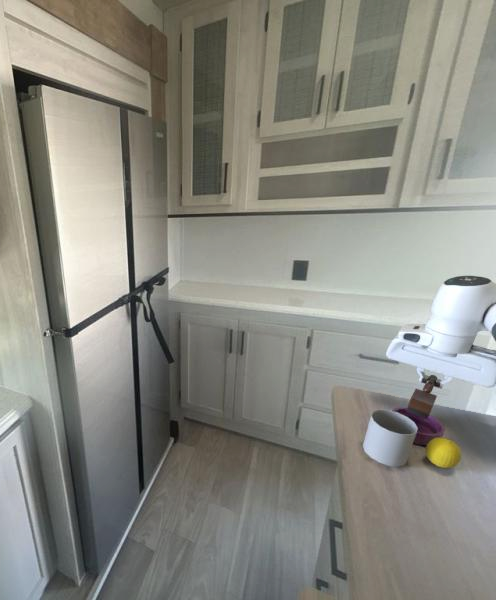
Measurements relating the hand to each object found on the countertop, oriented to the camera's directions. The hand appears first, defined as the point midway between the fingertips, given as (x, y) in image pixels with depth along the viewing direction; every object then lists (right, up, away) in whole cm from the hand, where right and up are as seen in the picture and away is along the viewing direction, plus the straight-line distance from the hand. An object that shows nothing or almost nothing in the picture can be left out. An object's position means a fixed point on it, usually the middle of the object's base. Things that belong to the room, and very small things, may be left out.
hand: (430, 384), depth 87 cm
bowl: (-5, -13, 0) cm, 14 cm away
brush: (-3, -5, -1) cm, 5 cm away
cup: (-17, -16, -5) cm, 24 cm away
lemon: (-8, -17, -10) cm, 21 cm away
